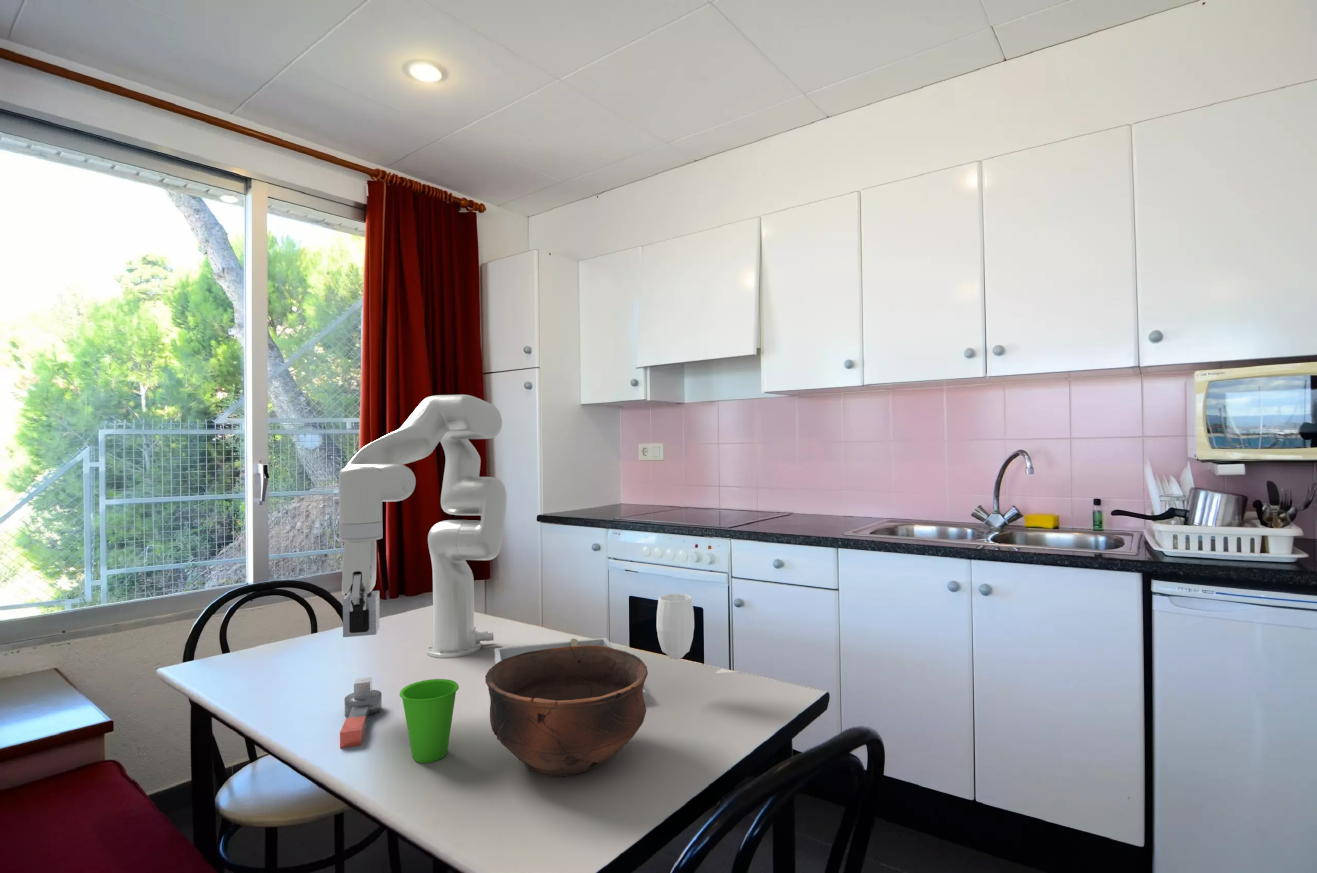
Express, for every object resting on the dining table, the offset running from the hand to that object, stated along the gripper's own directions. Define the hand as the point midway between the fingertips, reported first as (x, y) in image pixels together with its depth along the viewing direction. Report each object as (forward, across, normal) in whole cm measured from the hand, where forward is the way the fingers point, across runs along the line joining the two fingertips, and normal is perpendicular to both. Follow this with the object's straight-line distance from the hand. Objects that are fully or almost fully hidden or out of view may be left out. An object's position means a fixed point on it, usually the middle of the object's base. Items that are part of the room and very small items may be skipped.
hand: (361, 626), depth 126 cm
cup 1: (+16, +23, +13) cm, 31 cm away
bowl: (+16, +32, +34) cm, 49 cm away
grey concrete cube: (+1, 0, 0) cm, 1 cm away
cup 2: (+16, +16, +57) cm, 62 cm away
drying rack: (+16, -2, +38) cm, 41 cm away
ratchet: (+16, 0, 0) cm, 16 cm away
